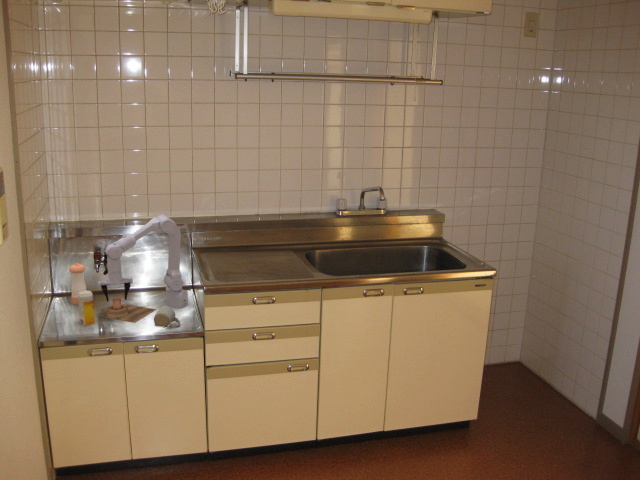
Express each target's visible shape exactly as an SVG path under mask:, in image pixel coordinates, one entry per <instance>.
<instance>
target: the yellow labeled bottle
mask: <svg viewBox="0 0 640 480" xmlns="http://www.w3.org/2000/svg"><path fill="white" fill-rule="evenodd" d="M77 306H78V314H79V315H78V316H79V324H80V325H81V326H90V325H94V324H95V323H96V321H95V319H96V318H95V308H94V307H95V306H94V294H93V292H92V291H91V290H87V289H86V290H85V291H80V292H79V294H78V305H77Z"/></svg>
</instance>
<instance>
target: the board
mask: <svg viewBox="0 0 640 480" xmlns="http://www.w3.org/2000/svg"><path fill="white" fill-rule="evenodd" d="M123 304H124V305H127V307H128V314H127V315H126V316H124V317H119V318H111V317H108V316H107V311H105V312H104V313H102V314H100V315H98V317H99V318H101V317H102V318H106V319H110V320H117V321H121V322H128V323H133V324H136V323H137V322H139V321H141V320H142V319H144V318H145V317H147V316H149V315H150V314H152V313H154V312H155V311H158V310H157V309H156V308H153V307H151V308H150V307H146V306H140V305H139V306H138V305H133V304H127V303H123Z"/></svg>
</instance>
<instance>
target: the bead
mask: <svg viewBox="0 0 640 480" xmlns="http://www.w3.org/2000/svg"><path fill="white" fill-rule="evenodd" d="M124 304H125V303H121V307H122V309H120V310H113V304H111V305H109V306H106V310H105V312H107V316H108V317H111V318H119V317H124V316H126V315H127V314H128V307H127V305H124Z"/></svg>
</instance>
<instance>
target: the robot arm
mask: <svg viewBox="0 0 640 480" xmlns="http://www.w3.org/2000/svg"><path fill="white" fill-rule="evenodd" d="M161 231H162V232H164V233H165V234H167V235H168V260H167V269H166V271H165V272H166V273H165V276H164V278H163V281H164V283H165V284H166V287H165V297H166V298H165V302H166V304H165V305H166V306H169V307H171V308H177V309H183V308H184V307H186V306H187V305H188V304H189V296H188V295H189V294H188V291H187V290H185V289H184V288H183V286H184V281H183V278H182V273H181V270H180V266H181V265H180V263H181V243H182V242H181V240H182V234H181V233H182V232H181V230H180V228H179V227H178V226H177V223H176V222H175V221H174V220H172V219H171V218H170V217H168V216H167V215H165V214H162V213H160V214H158V215H156V216H155V217H153V218H151V219H150V220H149V221H148V222H147V223H145V224H144V225H143V226H142V227H140V228H138V229H137V230H136V231H134V232H133V233H131V234H130V233H127V234H123V235H122V236H121V238H120V239H118V240H117V241H114V242H113V243H110V244H108V245H107V246H106V247H105V250H104V253H105V254H106V257H107V258H106V260H107V263H106V264H107V274H108V275H107V276H108V277H107V278H108V279H106V280H99V281H97V284H98V288H101V290H102V292H103V294H104V296H105V299H106V302H107V303H109V302H110V301H109V295H108V294H109V292H108V286H116V285H117V286H118V285H123V287H124V300H125V301H127V298H128V294H129V291H130V289H131V287H132V285H133V284H134V280H133V278H123V274H122V273H123V272H122V260H121V259H122V258H121V257H122V255H123V253H125V252H127V251H128V250H130V249H131V248H133V247H134V246H136V244H137V241H138V240H140V239H142V238H143V237H145V236H147V235H148V234H151V233H152V232H158V233H159V232H160V233H161Z"/></svg>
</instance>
